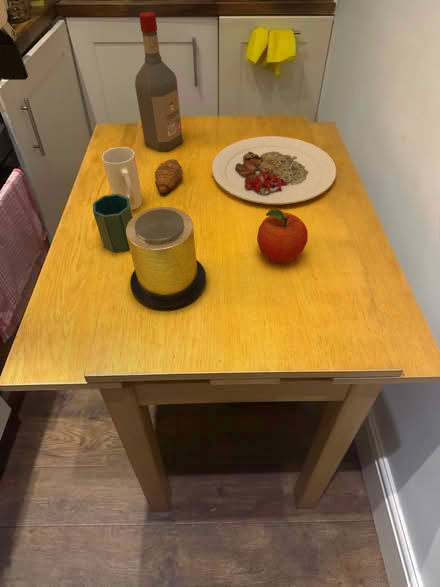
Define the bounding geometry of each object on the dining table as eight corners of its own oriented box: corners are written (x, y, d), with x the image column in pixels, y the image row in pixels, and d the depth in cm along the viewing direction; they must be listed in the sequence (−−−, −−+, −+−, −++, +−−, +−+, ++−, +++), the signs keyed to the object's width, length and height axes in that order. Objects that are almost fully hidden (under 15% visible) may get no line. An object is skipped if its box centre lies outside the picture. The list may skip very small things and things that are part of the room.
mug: (111, 198, 95) (98, 151, 86) (139, 191, 96) (129, 144, 87) (122, 223, 88) (109, 174, 80) (151, 215, 90) (142, 166, 81)
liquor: (187, 140, 112) (176, 12, 90) (164, 154, 108) (147, 22, 85) (163, 131, 116) (147, 6, 94) (140, 144, 111) (117, 15, 89)
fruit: (300, 275, 77) (307, 234, 69) (251, 265, 79) (253, 224, 71) (308, 242, 83) (315, 201, 75) (262, 234, 85) (265, 194, 78)
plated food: (321, 140, 111) (323, 128, 108) (347, 207, 91) (351, 194, 88) (211, 144, 110) (210, 132, 108) (213, 212, 90) (212, 199, 88)
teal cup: (96, 244, 84) (85, 208, 77) (119, 226, 88) (110, 190, 81) (122, 256, 81) (112, 220, 75) (144, 236, 85) (137, 201, 79)
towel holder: (115, 290, 75) (97, 232, 65) (163, 247, 83) (153, 189, 73) (175, 323, 70) (166, 265, 60) (220, 273, 78) (218, 215, 67)
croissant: (177, 198, 94) (175, 179, 91) (149, 196, 95) (145, 177, 91) (188, 166, 103) (187, 148, 100) (162, 165, 104) (160, 147, 100)
